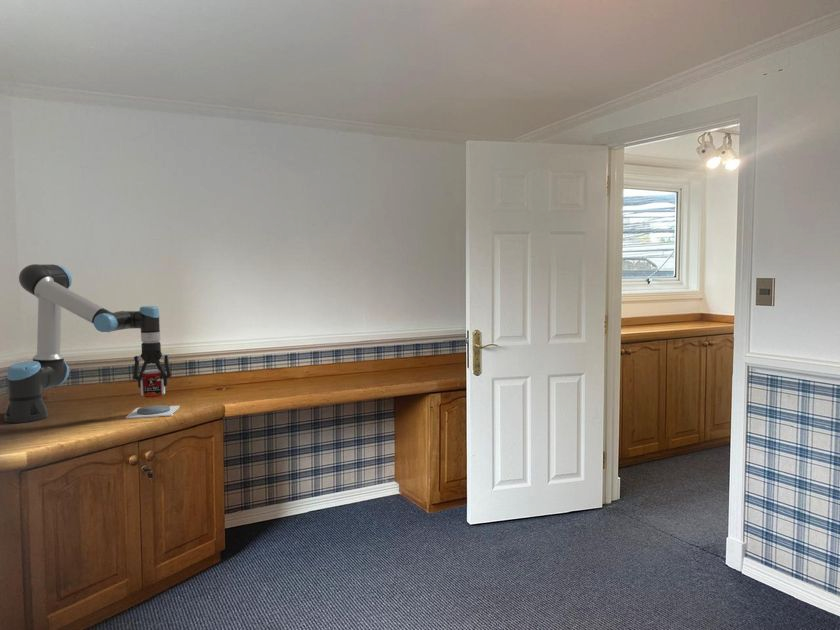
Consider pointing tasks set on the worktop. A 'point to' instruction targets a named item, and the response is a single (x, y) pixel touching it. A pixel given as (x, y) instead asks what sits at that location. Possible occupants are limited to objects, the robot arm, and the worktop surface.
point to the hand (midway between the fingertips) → (153, 394)
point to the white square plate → (153, 411)
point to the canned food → (152, 383)
